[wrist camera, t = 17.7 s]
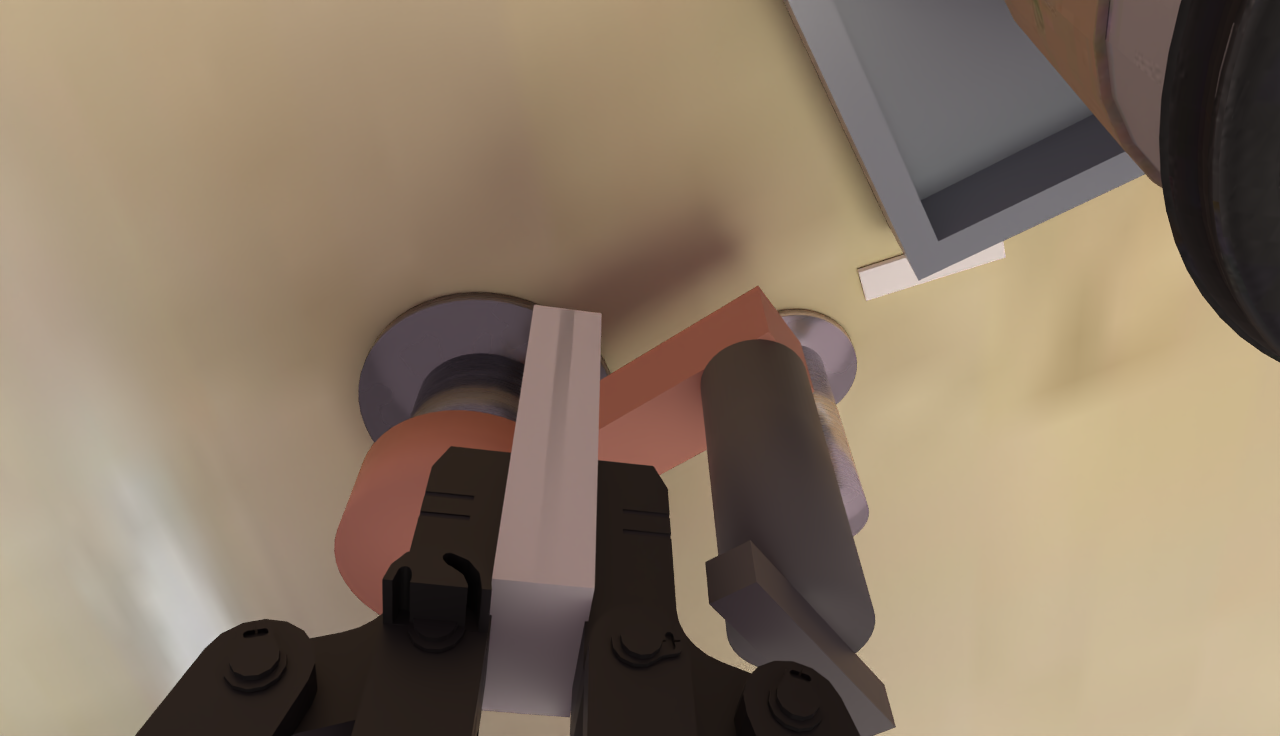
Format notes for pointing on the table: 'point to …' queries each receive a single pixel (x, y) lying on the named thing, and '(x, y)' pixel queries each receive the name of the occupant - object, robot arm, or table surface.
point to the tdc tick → (901, 275)
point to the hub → (448, 360)
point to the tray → (956, 121)
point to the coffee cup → (1189, 128)
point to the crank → (740, 483)
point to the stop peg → (832, 398)
